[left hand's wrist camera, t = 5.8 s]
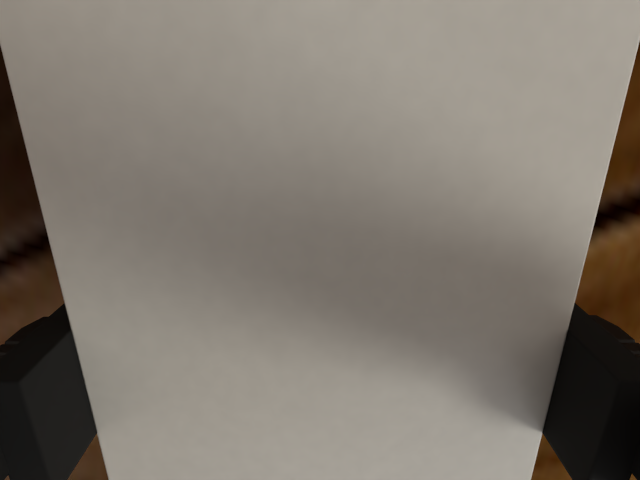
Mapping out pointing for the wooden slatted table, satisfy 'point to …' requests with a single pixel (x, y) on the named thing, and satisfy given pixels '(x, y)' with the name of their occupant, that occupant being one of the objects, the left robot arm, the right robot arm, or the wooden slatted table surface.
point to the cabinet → (319, 222)
